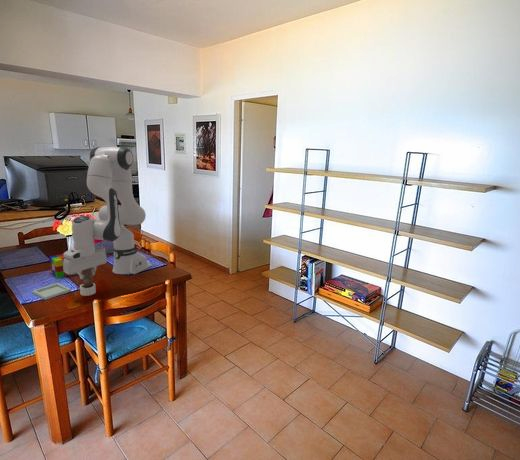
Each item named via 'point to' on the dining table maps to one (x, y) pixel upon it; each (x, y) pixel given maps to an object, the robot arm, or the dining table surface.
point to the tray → (51, 291)
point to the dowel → (88, 278)
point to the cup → (87, 290)
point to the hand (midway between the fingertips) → (87, 276)
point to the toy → (58, 266)
